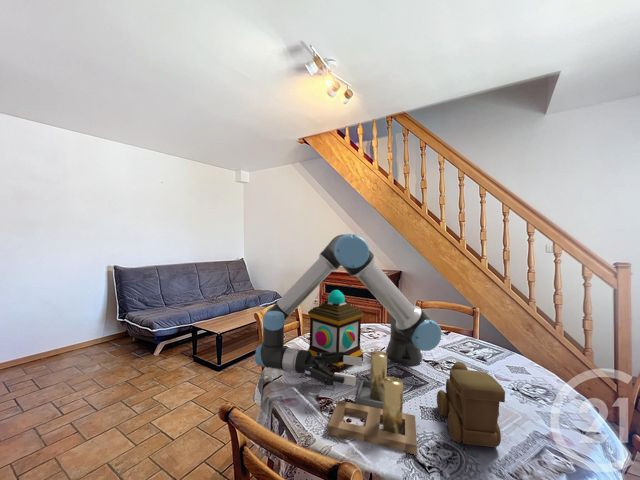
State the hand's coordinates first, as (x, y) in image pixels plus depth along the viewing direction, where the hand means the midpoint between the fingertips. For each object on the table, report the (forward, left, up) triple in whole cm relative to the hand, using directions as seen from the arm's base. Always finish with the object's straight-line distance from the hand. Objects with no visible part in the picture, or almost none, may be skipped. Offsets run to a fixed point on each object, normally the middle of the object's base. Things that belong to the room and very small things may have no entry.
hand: (358, 370), depth 92 cm
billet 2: (+4, +18, -8) cm, 20 cm away
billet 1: (-4, +5, -8) cm, 10 cm away
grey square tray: (-4, +5, -8) cm, 10 cm away
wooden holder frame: (+7, +14, -8) cm, 18 cm away
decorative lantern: (-8, -25, -9) cm, 27 cm away
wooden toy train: (-15, +27, -9) cm, 32 cm away
